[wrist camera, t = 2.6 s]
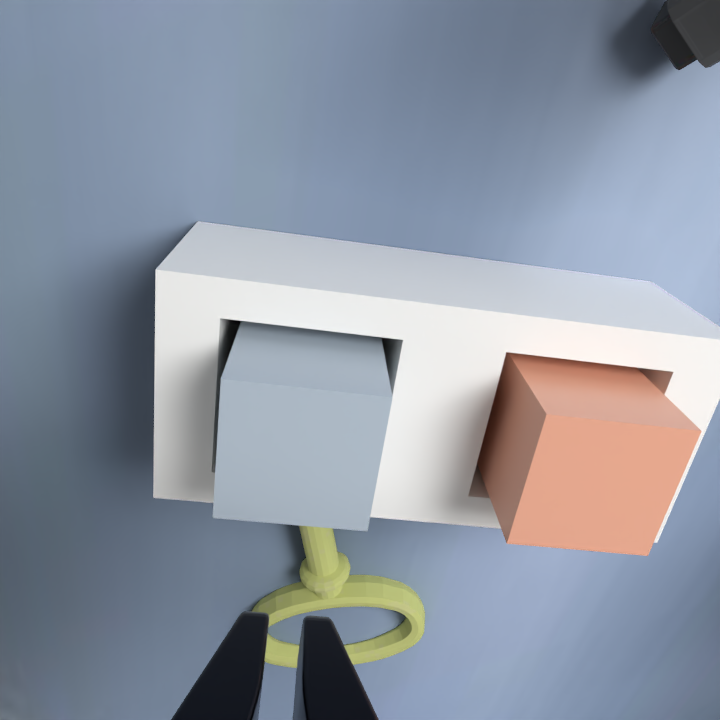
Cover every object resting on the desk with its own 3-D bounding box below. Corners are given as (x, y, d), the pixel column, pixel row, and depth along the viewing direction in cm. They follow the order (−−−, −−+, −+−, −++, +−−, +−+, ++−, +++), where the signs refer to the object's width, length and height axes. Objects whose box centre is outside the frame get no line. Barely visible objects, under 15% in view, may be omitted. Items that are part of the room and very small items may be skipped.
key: (307, 396, 22) (304, 428, 20) (438, 622, 27) (446, 665, 25) (132, 472, 23) (113, 510, 21) (289, 676, 28) (286, 722, 26)
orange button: (580, 452, 20) (647, 555, 15) (468, 440, 19) (507, 543, 15) (616, 347, 18) (702, 431, 14) (496, 333, 18) (546, 413, 14)
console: (592, 448, 23) (657, 542, 18) (190, 406, 21) (153, 497, 17) (651, 281, 20) (744, 342, 16) (198, 221, 19) (155, 269, 14)
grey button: (359, 429, 19) (367, 531, 15) (239, 417, 19) (212, 518, 14) (377, 319, 17) (392, 397, 13) (247, 303, 17) (221, 378, 13)
